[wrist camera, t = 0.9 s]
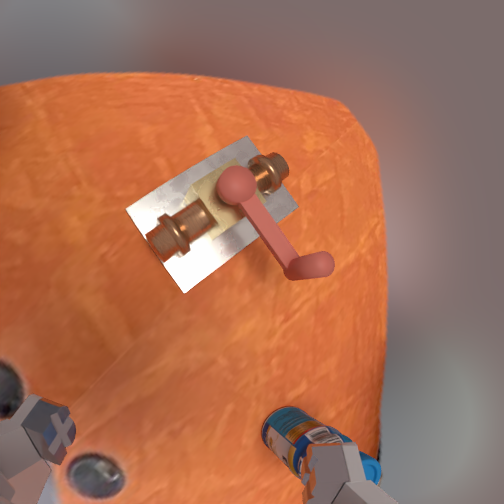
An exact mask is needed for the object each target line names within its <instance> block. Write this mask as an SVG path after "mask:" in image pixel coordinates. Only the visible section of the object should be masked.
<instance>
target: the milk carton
mask: <svg viewBox="0 0 504 504" xmlns="http://www.w3.org/2000/svg"><path fill="white" fill-rule="evenodd" d="M50 472H51V469H50V468H49V466H48V465H47V464H46V462H45V461H44V459H43V458H41V460H40V461H38V462H36V463H35V464H33V465H32V466H30V467H28V468H27V469H25V470H23V471H22V472H20V473H19V474H17V475H15V476H14V477H12V478H10V479H9V480H8V481H9V483H10V484H11V485H12V486H13V487H14V488H15V494H14V496H13V498H12V499H11V502H12V503H14V504H37V502H38V500H39V497H40V495H41V493H42V490H43V488H44V486H45V483H46V481H47V479H48V476H49V474H50Z"/></svg>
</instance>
